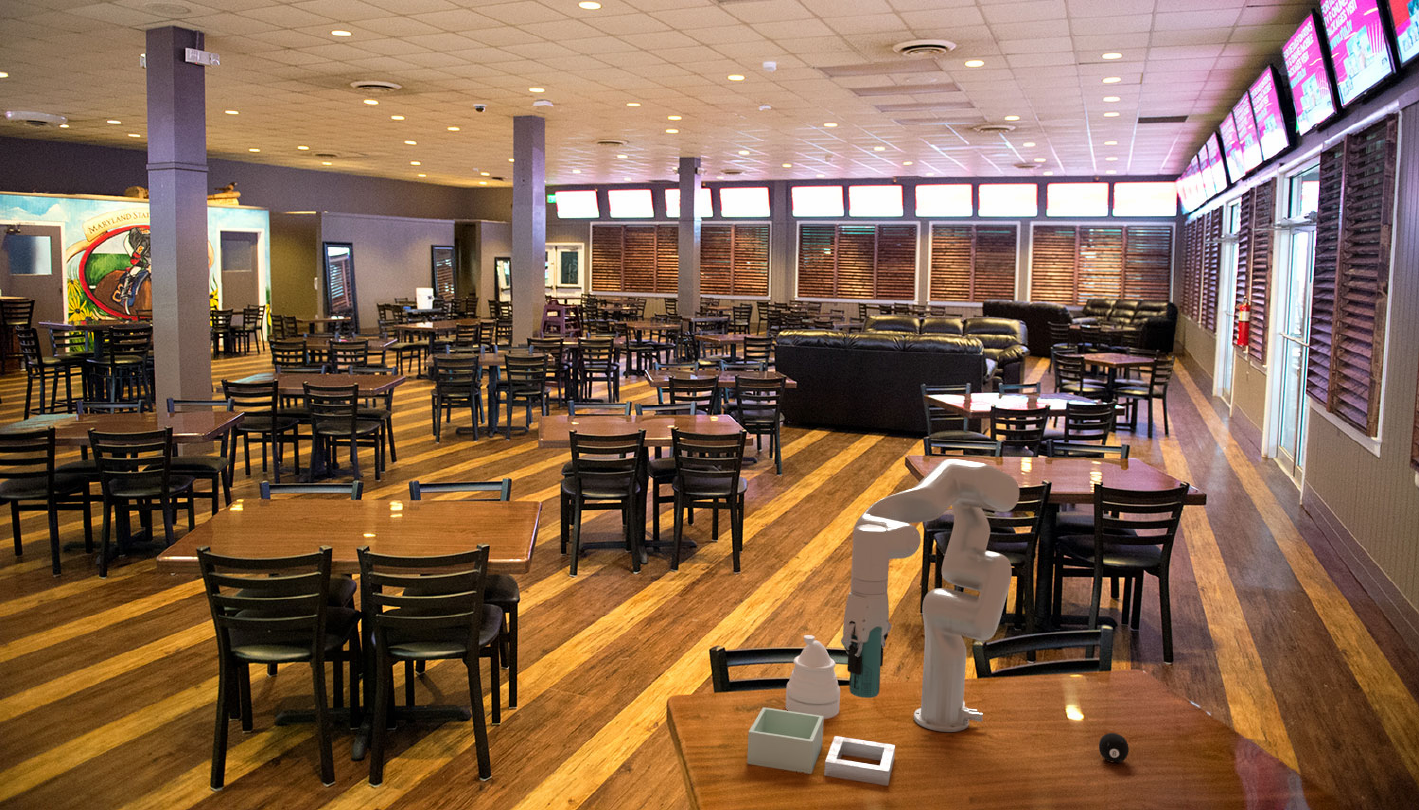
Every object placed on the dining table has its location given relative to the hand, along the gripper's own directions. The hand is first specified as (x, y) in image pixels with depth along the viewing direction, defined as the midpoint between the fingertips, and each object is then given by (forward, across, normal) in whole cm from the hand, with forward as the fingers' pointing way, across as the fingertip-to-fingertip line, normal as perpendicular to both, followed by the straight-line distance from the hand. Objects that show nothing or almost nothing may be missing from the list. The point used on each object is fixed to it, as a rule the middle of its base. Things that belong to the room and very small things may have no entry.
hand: (865, 668), depth 213 cm
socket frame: (+21, 0, 0) cm, 21 cm away
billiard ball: (+22, -45, +34) cm, 60 cm away
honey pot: (+22, -16, -26) cm, 38 cm away
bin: (+21, +8, -14) cm, 27 cm away
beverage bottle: (+7, 0, 0) cm, 7 cm away
